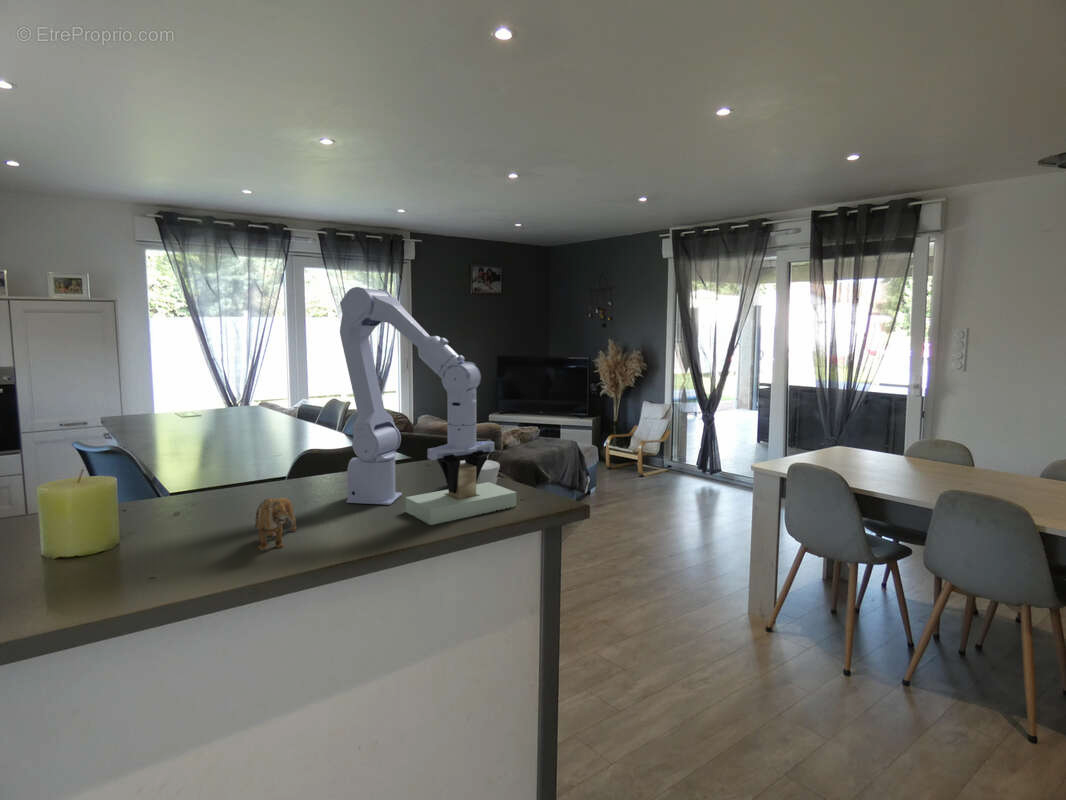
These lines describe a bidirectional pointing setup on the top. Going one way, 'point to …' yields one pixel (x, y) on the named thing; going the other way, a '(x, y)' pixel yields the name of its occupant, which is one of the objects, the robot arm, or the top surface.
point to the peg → (465, 482)
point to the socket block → (459, 503)
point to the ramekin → (488, 472)
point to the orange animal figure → (274, 519)
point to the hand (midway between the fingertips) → (462, 490)
